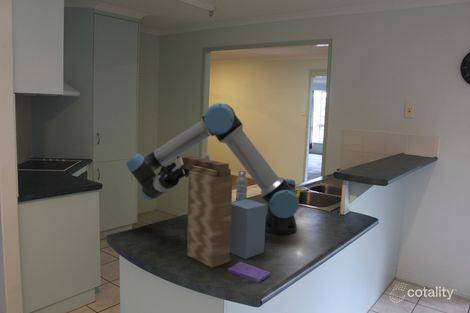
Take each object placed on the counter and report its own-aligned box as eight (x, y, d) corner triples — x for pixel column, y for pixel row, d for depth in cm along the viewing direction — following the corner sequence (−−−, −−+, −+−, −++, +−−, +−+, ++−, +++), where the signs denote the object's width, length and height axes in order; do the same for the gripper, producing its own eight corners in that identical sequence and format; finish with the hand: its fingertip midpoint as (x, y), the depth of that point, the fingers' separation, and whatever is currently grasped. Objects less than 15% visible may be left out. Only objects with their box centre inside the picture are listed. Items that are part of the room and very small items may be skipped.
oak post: (187, 255, 139) (188, 165, 134) (204, 249, 144) (206, 163, 140) (212, 267, 129) (215, 171, 124) (229, 261, 134) (232, 169, 130)
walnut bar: (176, 166, 143) (176, 156, 142) (185, 165, 146) (185, 155, 145) (219, 176, 126) (219, 164, 126) (228, 175, 129) (228, 163, 128)
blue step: (226, 250, 144) (228, 203, 142) (244, 244, 151) (246, 199, 149) (245, 259, 137) (247, 209, 135) (263, 252, 144) (266, 204, 142)
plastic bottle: (246, 210, 199) (247, 173, 197) (233, 209, 201) (234, 172, 198) (248, 207, 206) (249, 171, 203) (235, 206, 207) (237, 170, 204)
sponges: (258, 284, 119) (258, 279, 119) (227, 272, 127) (227, 267, 126) (270, 277, 125) (270, 271, 124) (239, 266, 132) (240, 261, 132)
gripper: (193, 185, 160) (224, 166, 145) (141, 193, 143) (170, 172, 128) (188, 168, 162) (218, 148, 147) (136, 174, 145) (164, 151, 130)
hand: (196, 159), depth 138 cm, fingers open, 12 cm apart
